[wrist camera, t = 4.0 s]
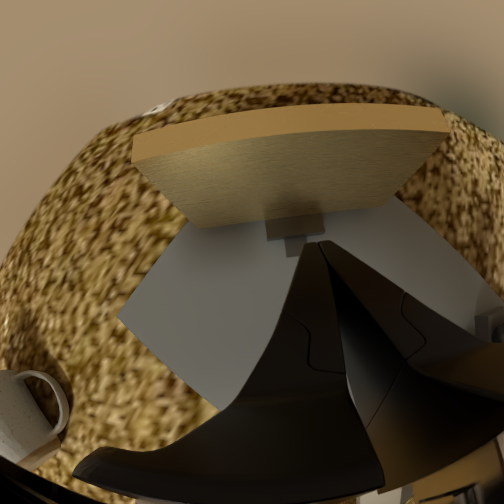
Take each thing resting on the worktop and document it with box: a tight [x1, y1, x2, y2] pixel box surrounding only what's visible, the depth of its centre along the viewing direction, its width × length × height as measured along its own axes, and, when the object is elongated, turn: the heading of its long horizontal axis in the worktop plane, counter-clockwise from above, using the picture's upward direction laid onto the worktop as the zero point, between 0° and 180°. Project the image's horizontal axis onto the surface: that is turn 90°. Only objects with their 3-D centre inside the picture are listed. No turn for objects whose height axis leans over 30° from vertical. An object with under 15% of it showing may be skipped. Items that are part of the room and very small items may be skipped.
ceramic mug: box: [0, 370, 69, 471], centre depth 13 cm, size 11×8×8 cm
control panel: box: [117, 195, 504, 504], centre depth 14 cm, size 16×24×4 cm
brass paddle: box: [131, 103, 451, 241], centre depth 11 cm, size 3×10×8 cm, turn 96°
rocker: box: [356, 487, 402, 504], centre depth 10 cm, size 4×3×1 cm, turn 7°
